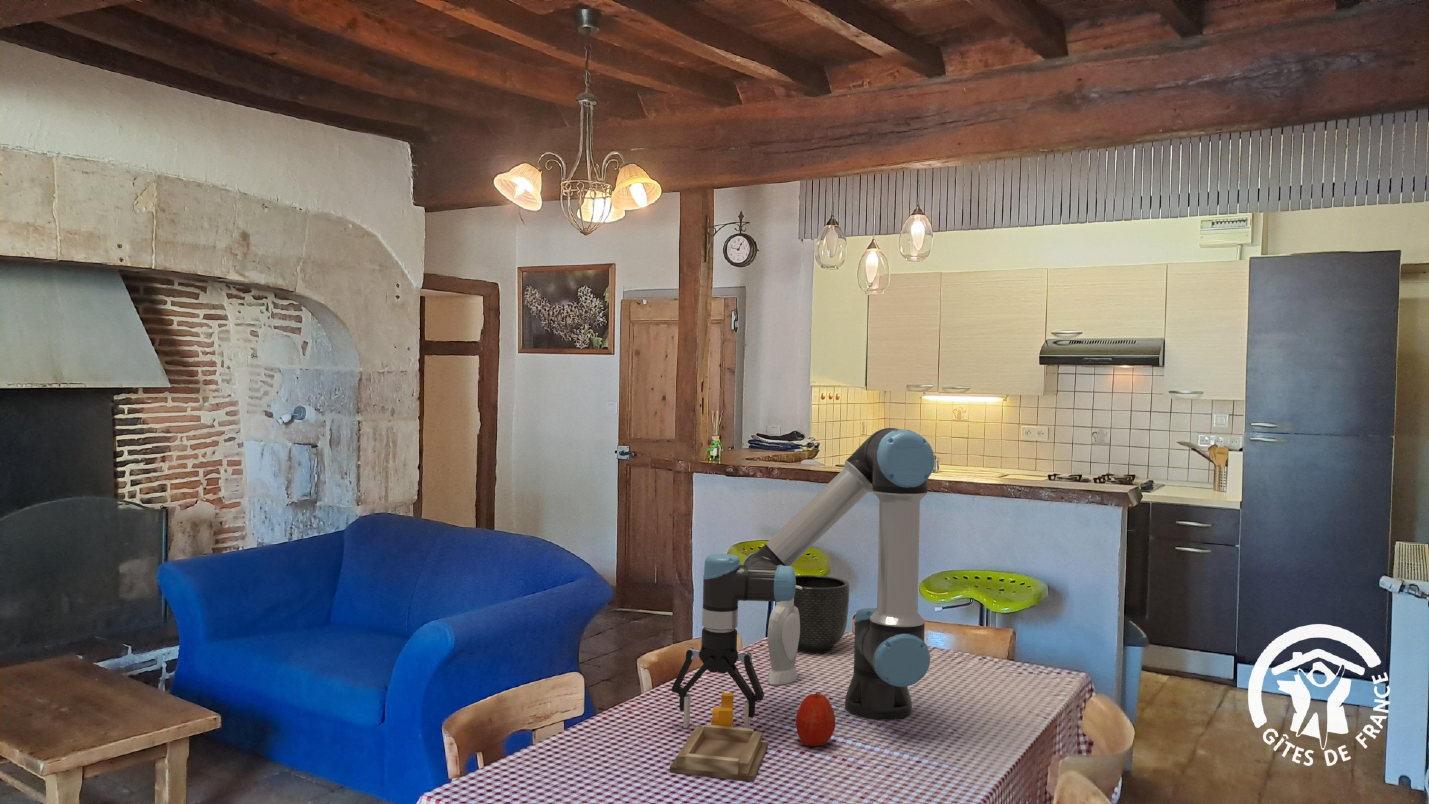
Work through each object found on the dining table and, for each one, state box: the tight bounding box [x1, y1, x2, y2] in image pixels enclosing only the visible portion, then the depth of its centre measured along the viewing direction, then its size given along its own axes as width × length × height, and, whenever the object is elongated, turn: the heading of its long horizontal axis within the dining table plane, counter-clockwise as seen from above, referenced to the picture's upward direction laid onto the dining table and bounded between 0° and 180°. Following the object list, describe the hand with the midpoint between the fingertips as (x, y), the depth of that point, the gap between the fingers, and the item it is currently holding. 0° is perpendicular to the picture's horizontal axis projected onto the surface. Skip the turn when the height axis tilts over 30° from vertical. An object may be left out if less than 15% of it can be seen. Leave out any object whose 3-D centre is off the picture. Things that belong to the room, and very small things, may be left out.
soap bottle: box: [767, 585, 803, 686], centre depth 241 cm, size 13×8×24 cm, turn 139°
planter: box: [794, 574, 850, 654], centre depth 274 cm, size 20×20×19 cm
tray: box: [669, 723, 769, 782], centre depth 189 cm, size 16×18×3 cm
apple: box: [795, 691, 836, 747], centre depth 199 cm, size 8×8×11 cm
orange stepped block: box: [711, 692, 735, 727], centre depth 205 cm, size 12×4×6 cm, turn 177°
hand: (716, 729), depth 206 cm, fingers open, 12 cm apart
